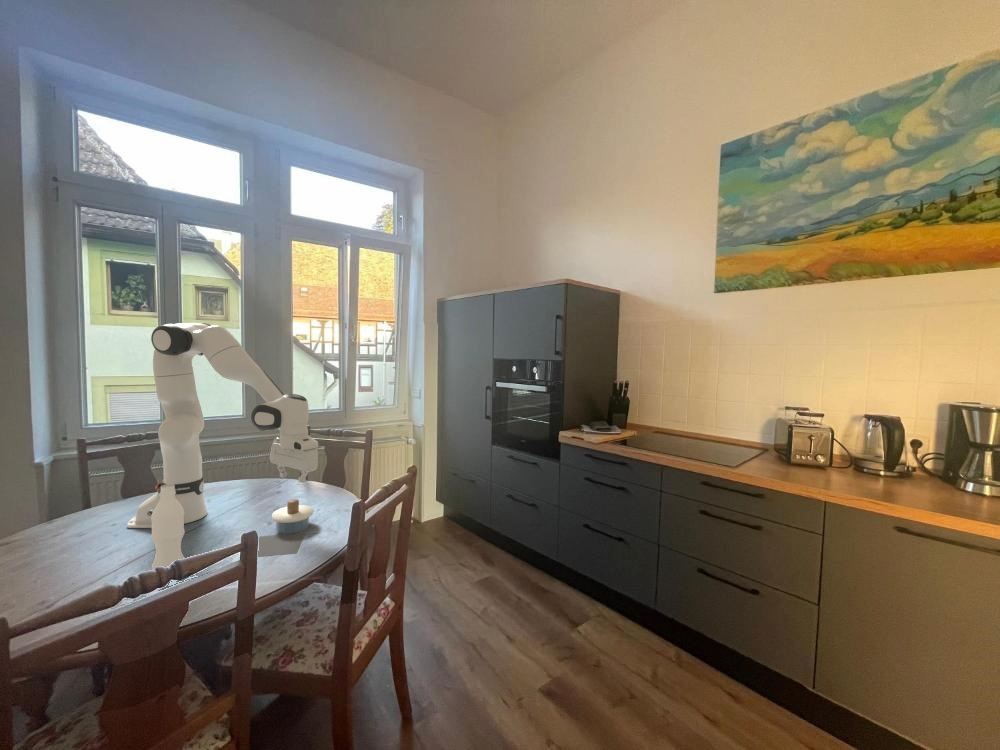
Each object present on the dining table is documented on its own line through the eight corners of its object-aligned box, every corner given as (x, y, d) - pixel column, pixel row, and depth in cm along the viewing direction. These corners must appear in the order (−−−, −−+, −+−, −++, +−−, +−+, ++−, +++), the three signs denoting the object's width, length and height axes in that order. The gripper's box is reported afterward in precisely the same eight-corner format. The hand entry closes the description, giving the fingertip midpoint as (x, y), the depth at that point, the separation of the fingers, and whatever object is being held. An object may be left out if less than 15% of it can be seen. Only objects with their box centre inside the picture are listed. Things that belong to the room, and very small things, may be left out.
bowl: (273, 536, 136) (273, 522, 136) (280, 523, 146) (280, 510, 145) (305, 533, 139) (305, 519, 138) (310, 521, 148) (310, 508, 148)
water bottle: (183, 563, 118) (182, 479, 116) (186, 573, 113) (185, 486, 111) (150, 571, 113) (149, 485, 111) (152, 583, 108) (151, 492, 106)
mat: (245, 559, 121) (245, 557, 121) (259, 538, 134) (259, 536, 134) (296, 555, 125) (296, 553, 125) (305, 534, 138) (305, 532, 138)
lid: (267, 524, 134) (267, 509, 133) (277, 508, 146) (277, 495, 146) (309, 521, 137) (309, 507, 137) (315, 506, 150) (316, 493, 150)
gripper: (265, 437, 142) (264, 476, 142) (306, 446, 133) (305, 487, 134) (281, 435, 147) (280, 472, 148) (322, 443, 139) (320, 482, 140)
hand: (292, 479), depth 141 cm, fingers open, 8 cm apart
